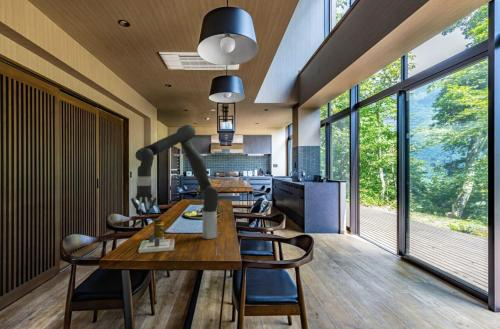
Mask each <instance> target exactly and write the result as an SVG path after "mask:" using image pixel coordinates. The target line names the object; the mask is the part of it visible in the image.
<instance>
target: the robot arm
mask: <svg viewBox="0 0 500 329" xmlns="http://www.w3.org/2000/svg"><path fill="white" fill-rule="evenodd" d="M195 136H196V129H195V127H194V126H193V125H191V124H185V125H182V126H181V127H179V128H178V129H177V130H176V132H175V133H173V134H170V135H168V136H165V137H162V139H159V140H157V141H155V142H153V143H151V144H148V145H146V146H143V147H141V148H139V149H138V150H136V152H135V158H136V159H135V160H138V161H139V162H140V165H139V166H138V167H137V177H136V195H135V197H132V198H131V199H130V201H131V203H132V205H133V207H134V209H137V210H138V216H139V217H142V216H143V215H142V214H143V213H142V211H143V209H142V206H143V204H145V206H146V211H145V212H146V214H145V216H146V217H148V216H149V215H150V209H152V208H153V207H154V206H155V203H156V202H157V199H158V197H155V196H153V194H152V182H153V180H152V168H153V162H154V157H155V156H156V155H157V156H158V155H161V154H162V153H164V152H166V151H168V150H169V149H171V148H173V147H174V146H176V145H178V144H180V145H181V147H182V149H183V151H184V152H185V156H186V157H187V160H188V162H189V166H190V168H191V170H192V173H193V175H194V177H195V179H196V180H197V183H198V187H199V190H200V193H201V196H202V198H203V206H202V233H201V234H202V236H201V237H202V239H205V240H206V239H207V240H210V239H212V240H213V239H217V238H218V222H217V221H218V220H217V219H218V218H217V217H218V216H217V215H218V213H217V212H218V211H217V210H218V205H219V192H218V189H216V188H215V187H214V186H212V184H211V182H210V178H209V176H208V169H207V165H206V163H205V160H204V158H203V156H202V154H201V153H200V152H199V151H198V150H197V149H196V148H195V147H194V144H193V142H192V139H193V138H194V137H195ZM136 201H137V202H138V204H137V202H136ZM150 201H152V202H151V204H150Z"/></svg>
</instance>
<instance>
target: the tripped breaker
mask: <svg viewBox="0 0 500 329" xmlns="http://www.w3.org/2000/svg"><path fill="white" fill-rule="evenodd" d="M160 240H161V239H160V238H155V246H159V245H160Z"/></svg>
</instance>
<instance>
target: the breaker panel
mask: <svg viewBox="0 0 500 329" xmlns="http://www.w3.org/2000/svg"><path fill="white" fill-rule="evenodd" d="M174 249H175V238H167V239H166V238H164V239H160V245H159V246H155V240H154V241H153V242H149V239H148V240H142V242H141V244H140V246H139V248H138V253H139V254H140V253H142V254H143V253H155V252H157V253H158V252H169V251H174Z"/></svg>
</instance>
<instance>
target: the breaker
mask: <svg viewBox="0 0 500 329" xmlns="http://www.w3.org/2000/svg"><path fill="white" fill-rule="evenodd" d="M148 240H149V242H153V241H154V233H149V234H148Z"/></svg>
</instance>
